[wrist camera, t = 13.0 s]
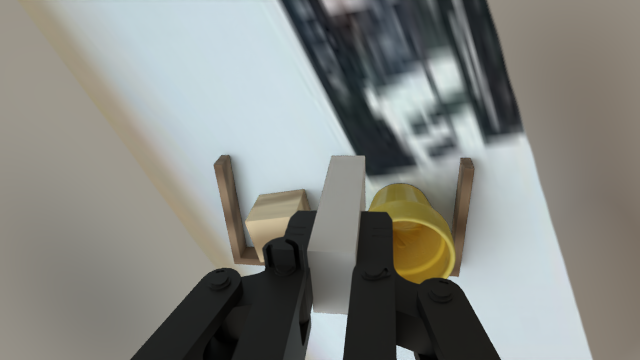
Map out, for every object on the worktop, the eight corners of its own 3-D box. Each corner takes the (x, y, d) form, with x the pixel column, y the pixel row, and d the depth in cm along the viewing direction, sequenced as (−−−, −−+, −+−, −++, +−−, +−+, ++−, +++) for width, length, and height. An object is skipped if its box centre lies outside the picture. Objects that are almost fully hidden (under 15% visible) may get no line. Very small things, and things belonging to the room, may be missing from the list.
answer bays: (221, 155, 48) (212, 166, 46) (470, 158, 44) (475, 170, 41) (240, 251, 56) (233, 265, 53) (455, 263, 51) (459, 278, 48)
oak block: (259, 194, 50) (244, 221, 45) (304, 188, 49) (294, 216, 44) (272, 232, 53) (260, 262, 48) (315, 227, 52) (307, 258, 47)
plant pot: (431, 247, 50) (440, 306, 42) (351, 232, 51) (344, 287, 43) (454, 177, 45) (470, 228, 37) (364, 162, 46) (359, 208, 37)
